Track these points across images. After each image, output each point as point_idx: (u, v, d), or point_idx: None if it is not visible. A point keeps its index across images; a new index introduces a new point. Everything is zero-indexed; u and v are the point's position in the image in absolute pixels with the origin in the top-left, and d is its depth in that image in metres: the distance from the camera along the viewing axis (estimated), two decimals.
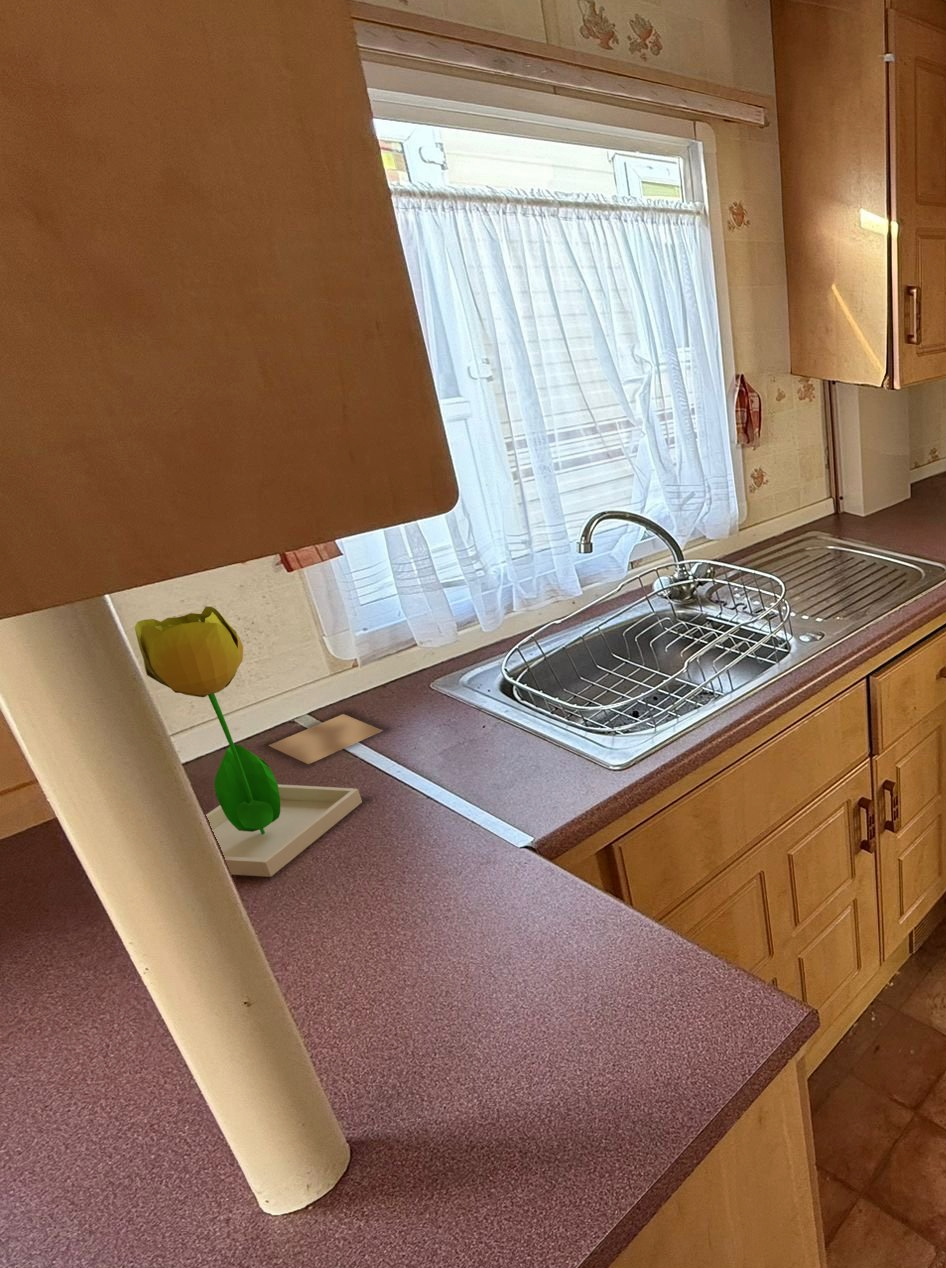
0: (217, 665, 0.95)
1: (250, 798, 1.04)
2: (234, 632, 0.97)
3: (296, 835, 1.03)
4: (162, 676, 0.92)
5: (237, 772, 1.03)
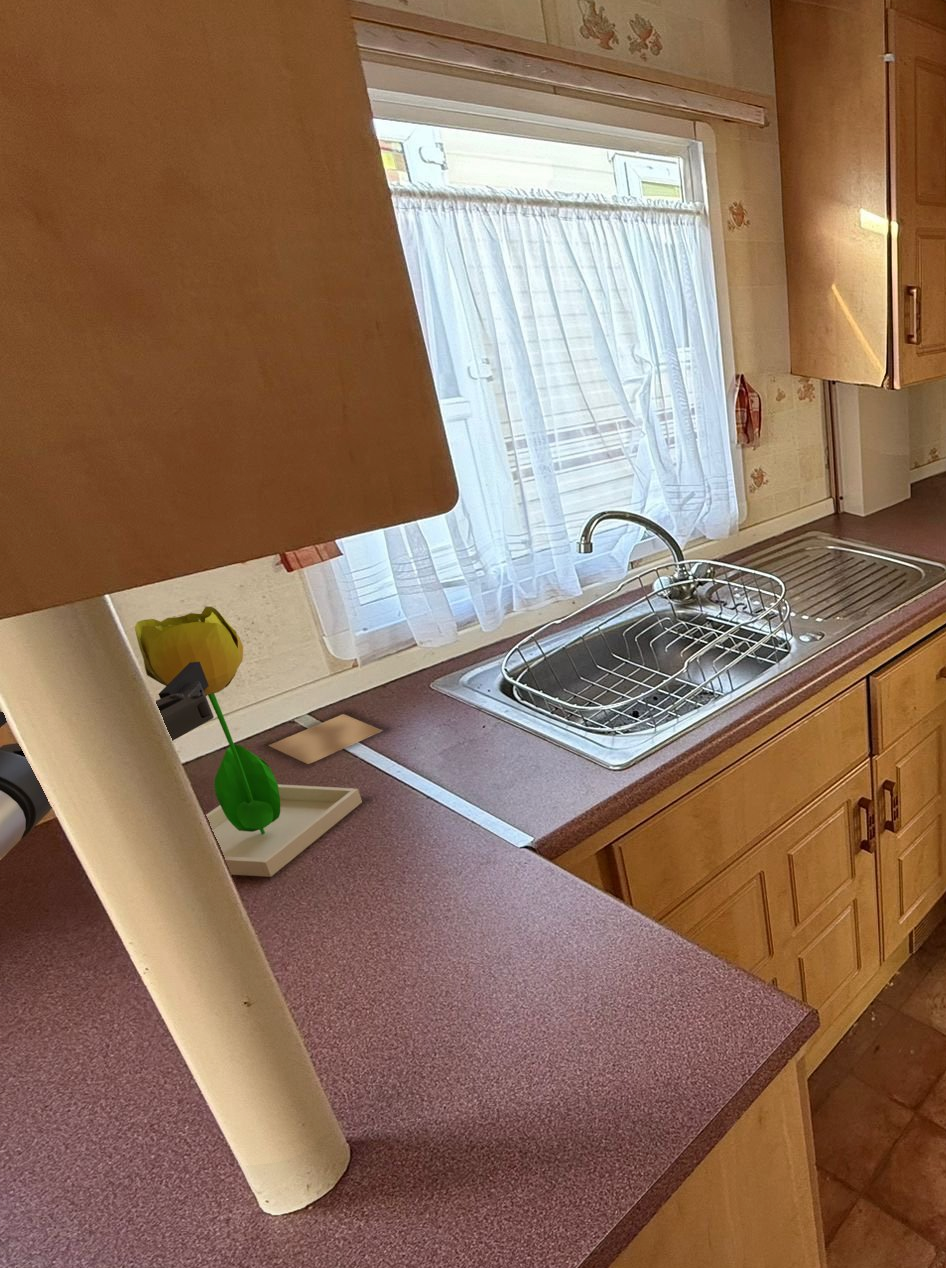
0: (217, 665, 0.95)
1: (250, 798, 1.04)
2: (234, 632, 0.97)
3: (296, 835, 1.03)
4: (162, 676, 0.92)
5: (237, 772, 1.03)
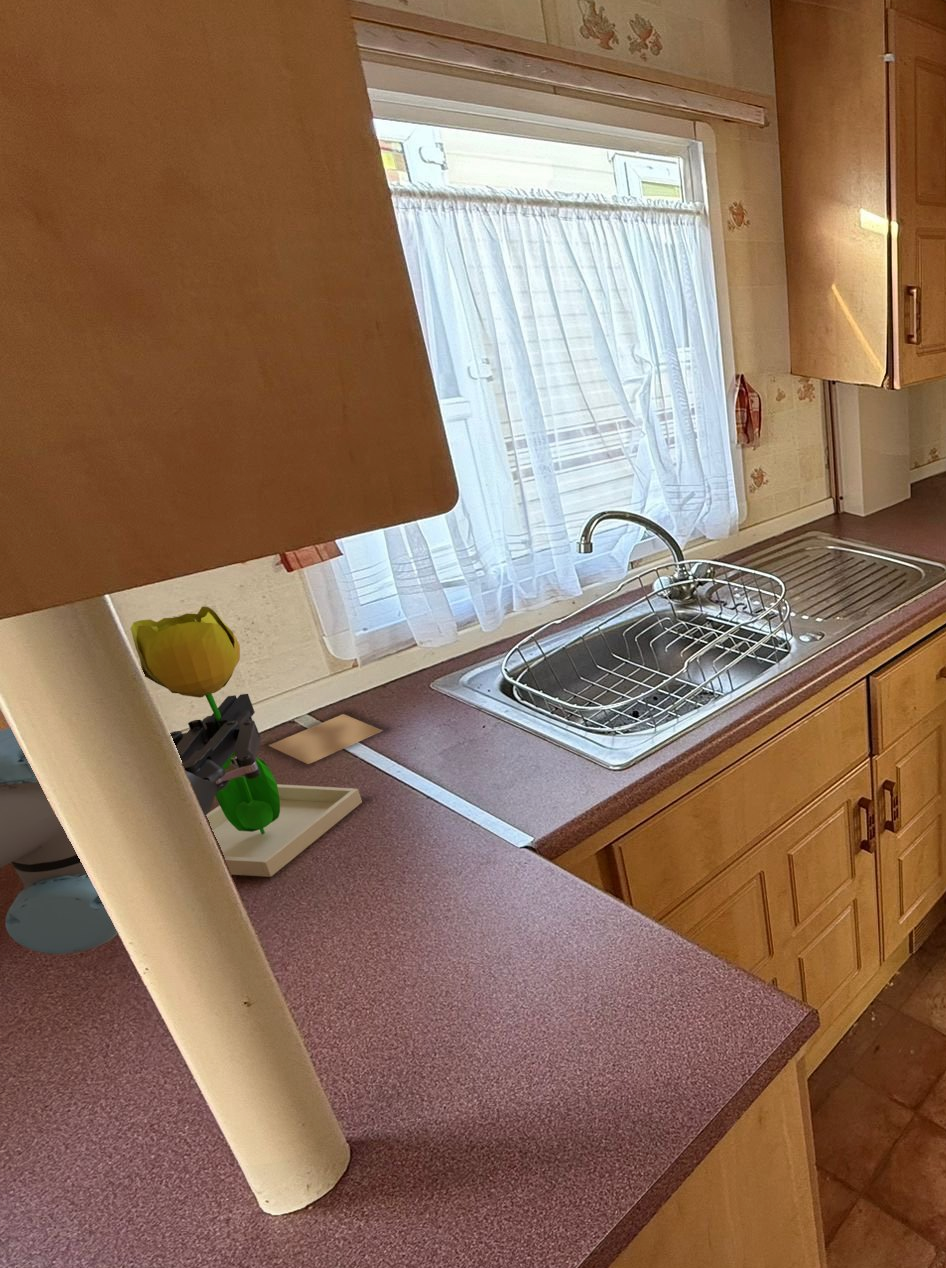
0: (214, 665, 0.95)
1: (249, 798, 1.03)
2: (230, 632, 0.97)
3: (296, 835, 1.03)
4: (159, 676, 0.92)
5: None
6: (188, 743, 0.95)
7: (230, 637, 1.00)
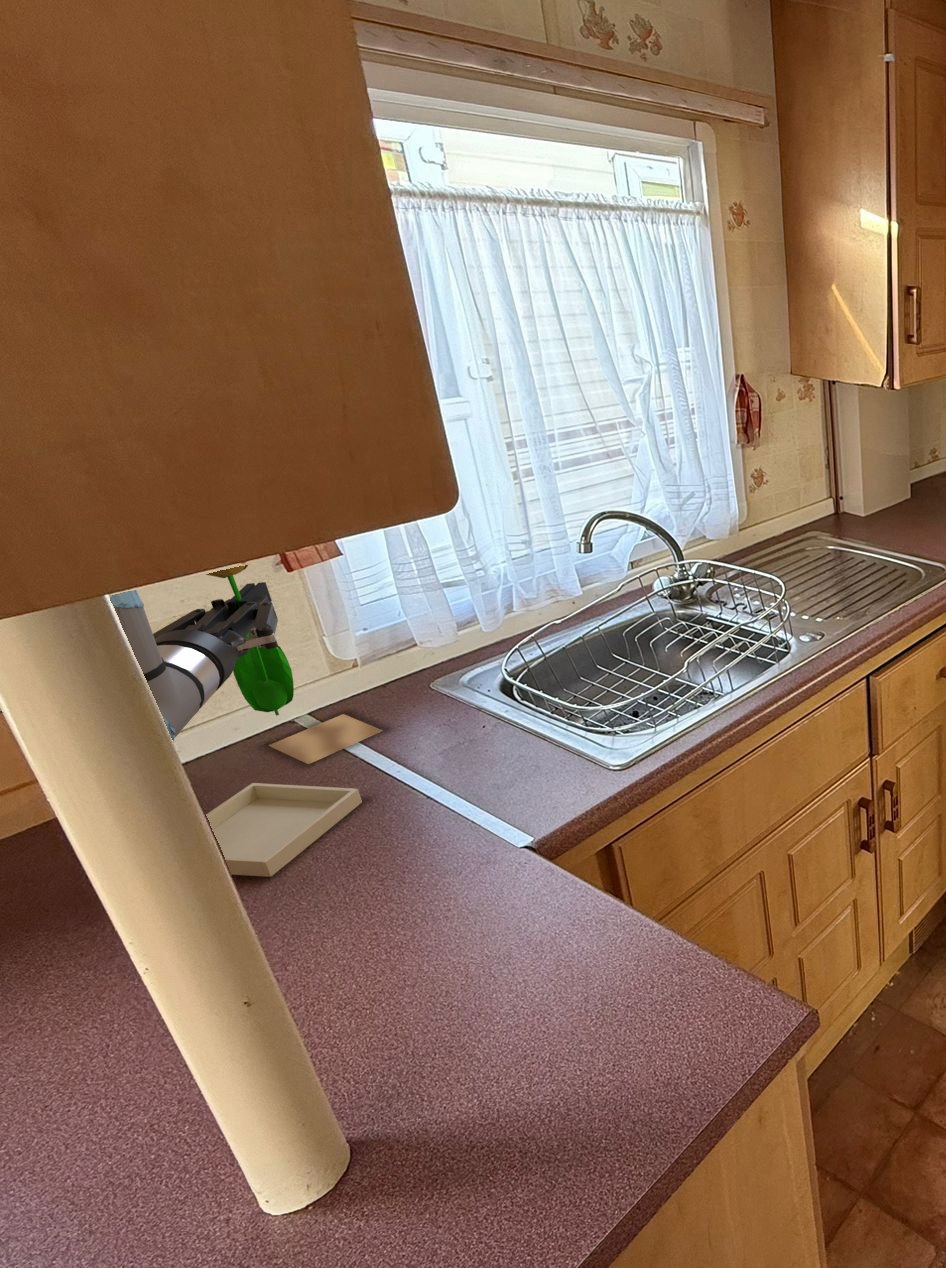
0: None
1: (265, 679, 1.10)
2: None
3: (296, 835, 1.03)
4: None
5: (254, 655, 1.10)
6: (211, 618, 1.01)
7: None
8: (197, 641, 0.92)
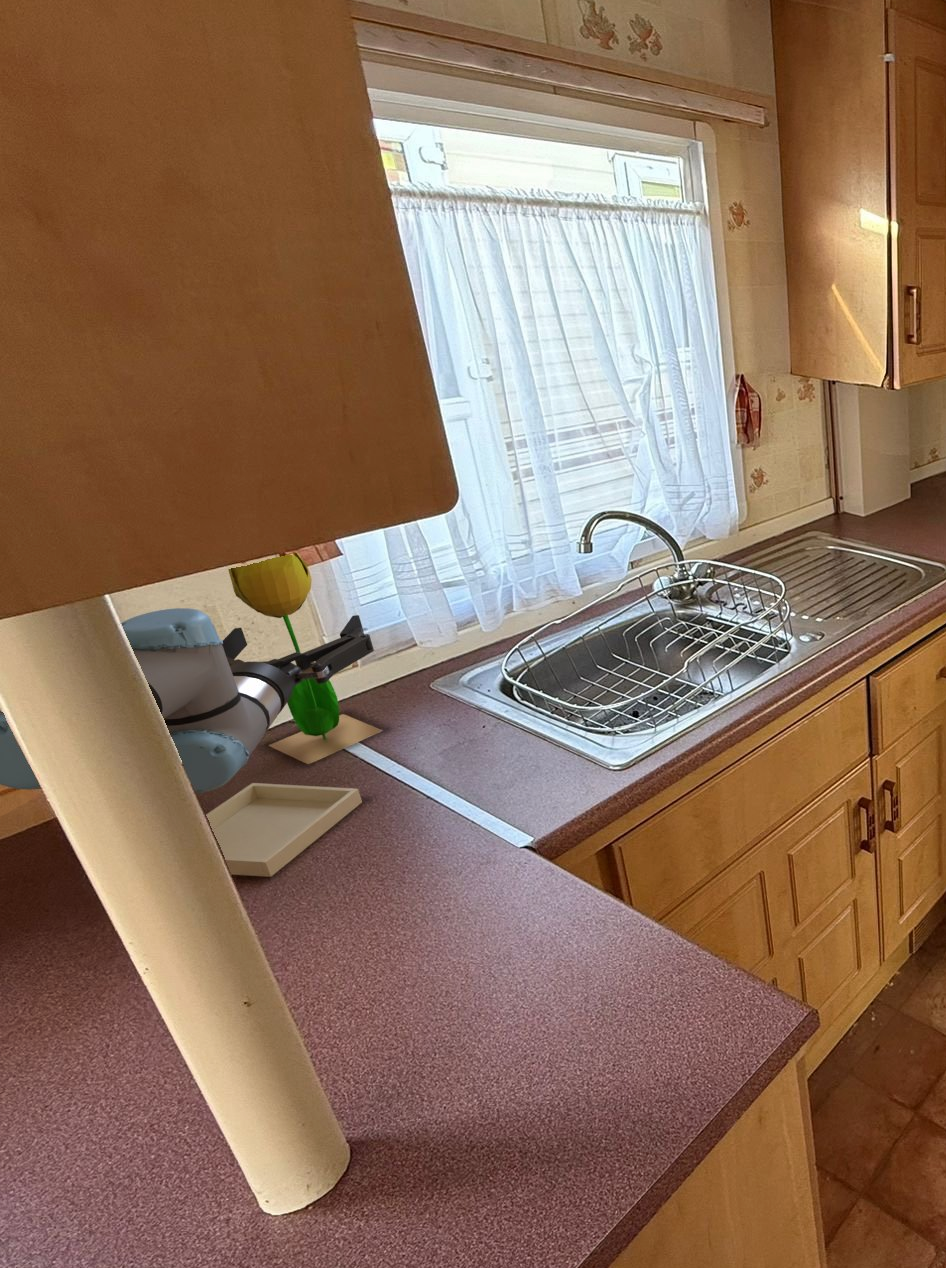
0: (292, 590, 1.14)
1: (315, 707, 1.23)
2: (305, 564, 1.17)
3: (296, 835, 1.03)
4: (248, 597, 1.12)
5: (304, 685, 1.23)
6: None
7: None
8: (262, 672, 1.04)
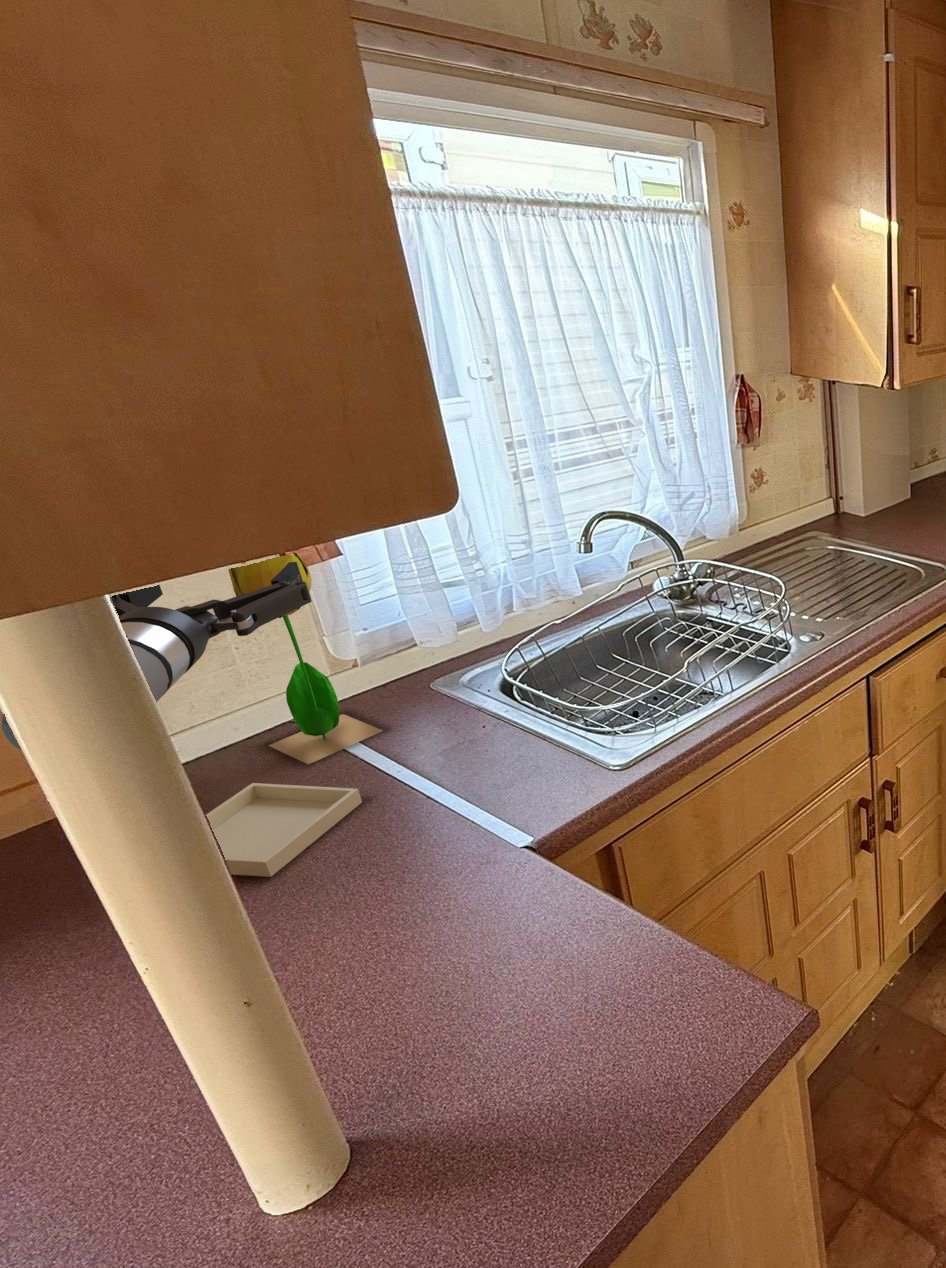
0: None
1: (315, 707, 1.23)
2: (305, 564, 1.17)
3: (296, 835, 1.03)
4: None
5: (304, 685, 1.23)
6: (130, 604, 0.93)
7: None
8: (166, 618, 0.87)
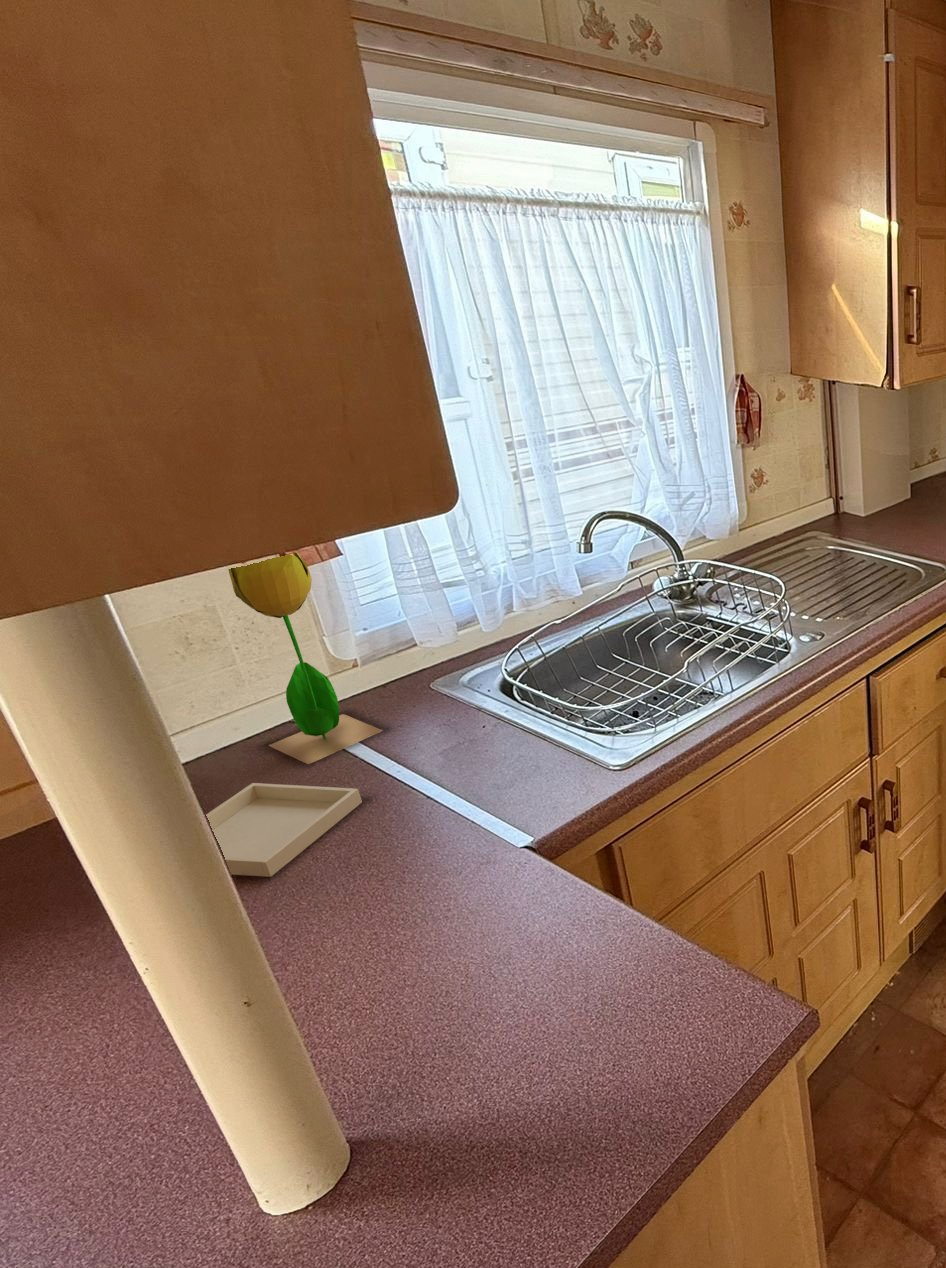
0: (292, 590, 1.14)
1: (315, 707, 1.23)
2: (305, 564, 1.17)
3: (296, 835, 1.03)
4: (248, 597, 1.12)
5: (304, 685, 1.23)
6: None
7: None
8: None
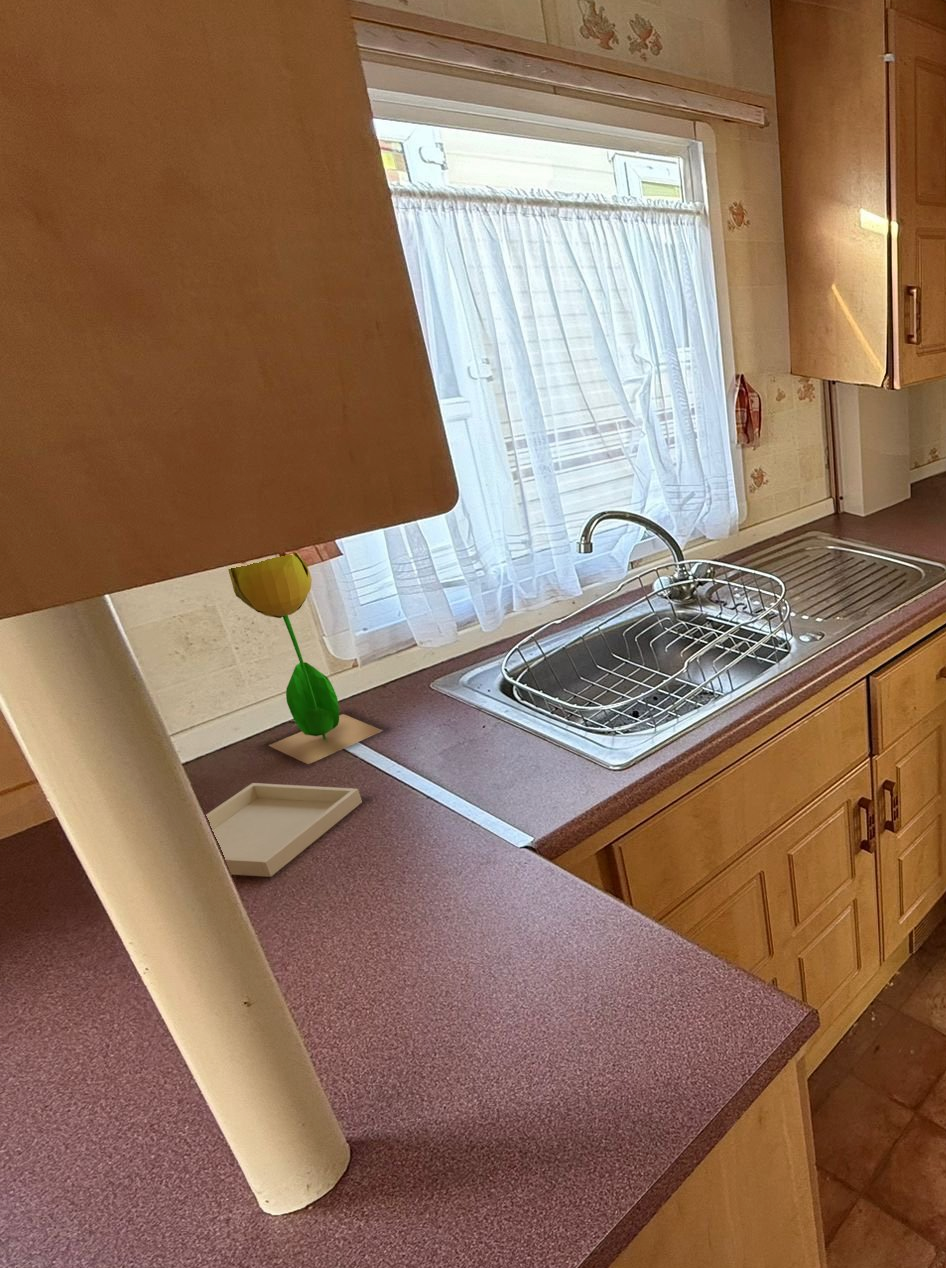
0: (292, 590, 1.14)
1: (315, 707, 1.23)
2: (305, 564, 1.17)
3: (296, 835, 1.03)
4: (248, 597, 1.12)
5: (304, 685, 1.23)
6: None
7: None
8: None
